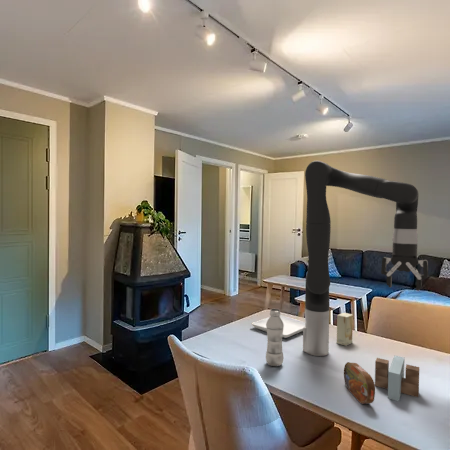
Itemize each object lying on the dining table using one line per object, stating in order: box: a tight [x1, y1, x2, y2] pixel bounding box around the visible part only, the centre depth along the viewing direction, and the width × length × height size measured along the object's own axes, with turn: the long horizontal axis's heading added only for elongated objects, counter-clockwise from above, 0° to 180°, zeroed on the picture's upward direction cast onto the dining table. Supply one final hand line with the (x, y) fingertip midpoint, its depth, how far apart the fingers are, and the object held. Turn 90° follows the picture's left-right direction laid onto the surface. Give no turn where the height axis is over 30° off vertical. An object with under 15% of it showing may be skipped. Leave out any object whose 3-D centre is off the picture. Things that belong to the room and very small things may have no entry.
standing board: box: [374, 357, 420, 398], centre depth 104 cm, size 12×3×8 cm, turn 57°
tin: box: [343, 361, 376, 405], centre depth 100 cm, size 15×3×8 cm, turn 5°
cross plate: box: [387, 355, 405, 402], centre depth 104 cm, size 14×3×8 cm, turn 146°
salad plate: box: [251, 314, 305, 339], centre depth 158 cm, size 21×21×3 cm
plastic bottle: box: [265, 308, 284, 367], centre depth 120 cm, size 6×7×20 cm
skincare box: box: [336, 312, 354, 346], centre depth 141 cm, size 6×4×12 cm
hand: (403, 288), depth 115 cm, fingers open, 8 cm apart
